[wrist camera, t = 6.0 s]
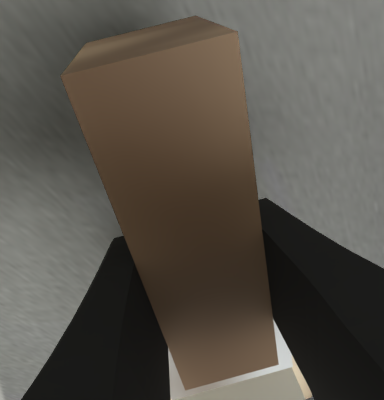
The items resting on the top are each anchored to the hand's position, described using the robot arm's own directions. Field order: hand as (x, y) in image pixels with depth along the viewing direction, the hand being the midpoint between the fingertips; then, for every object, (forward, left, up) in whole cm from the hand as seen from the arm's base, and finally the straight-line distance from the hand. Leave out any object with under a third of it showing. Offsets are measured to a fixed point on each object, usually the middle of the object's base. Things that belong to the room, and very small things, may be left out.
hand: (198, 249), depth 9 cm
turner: (0, +2, -2) cm, 3 cm away
